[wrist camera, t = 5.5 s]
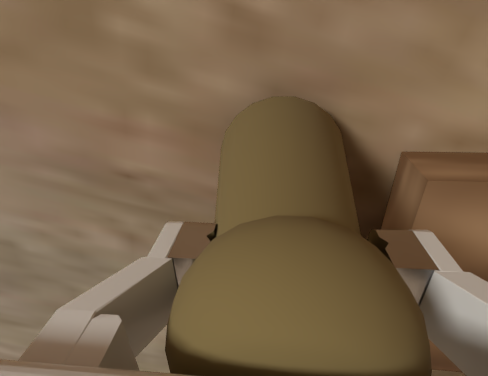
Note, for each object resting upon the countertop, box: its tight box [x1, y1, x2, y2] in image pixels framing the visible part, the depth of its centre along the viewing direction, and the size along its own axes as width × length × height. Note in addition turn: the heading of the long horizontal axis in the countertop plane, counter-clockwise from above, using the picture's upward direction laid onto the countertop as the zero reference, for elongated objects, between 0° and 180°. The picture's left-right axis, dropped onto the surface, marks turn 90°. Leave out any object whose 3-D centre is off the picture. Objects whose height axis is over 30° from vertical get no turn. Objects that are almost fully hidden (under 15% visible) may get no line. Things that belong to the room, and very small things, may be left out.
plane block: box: [381, 152, 488, 372], centre depth 16 cm, size 14×9×5 cm, turn 2°
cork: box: [165, 97, 432, 376], centre depth 9 cm, size 6×6×11 cm
